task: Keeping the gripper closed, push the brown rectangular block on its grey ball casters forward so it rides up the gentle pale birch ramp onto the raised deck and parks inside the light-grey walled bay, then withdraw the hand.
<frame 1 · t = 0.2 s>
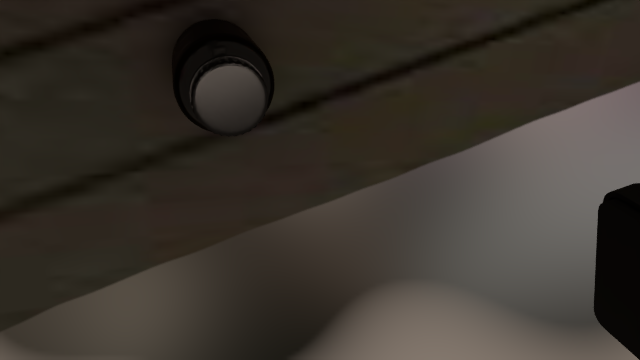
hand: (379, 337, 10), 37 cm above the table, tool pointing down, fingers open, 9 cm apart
supplement bottle: (214, 59, 44), on the table
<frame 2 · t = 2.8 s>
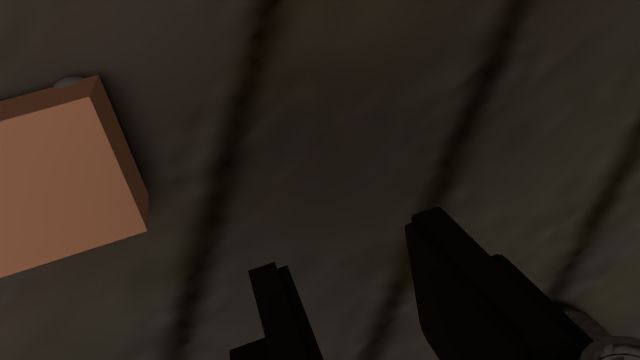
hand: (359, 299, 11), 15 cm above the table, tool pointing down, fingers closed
brown rectangular block: (32, 157, 23), on the table
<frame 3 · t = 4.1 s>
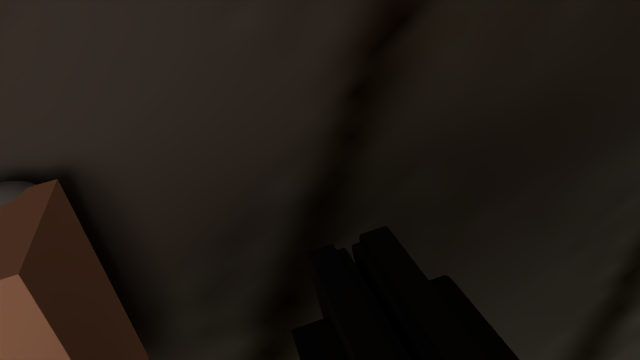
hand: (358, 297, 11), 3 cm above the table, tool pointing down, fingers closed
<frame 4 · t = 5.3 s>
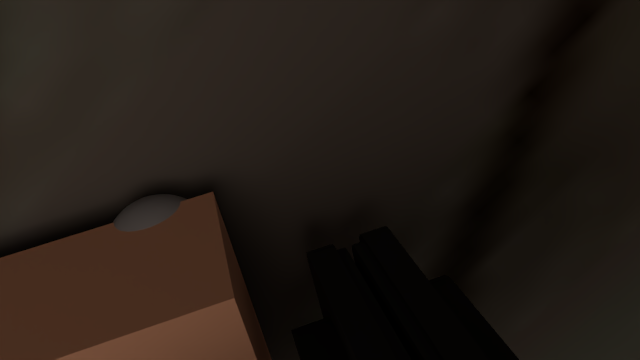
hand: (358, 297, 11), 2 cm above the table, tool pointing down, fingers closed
brown rectangular block: (64, 341, 11), on the table, touching gripper
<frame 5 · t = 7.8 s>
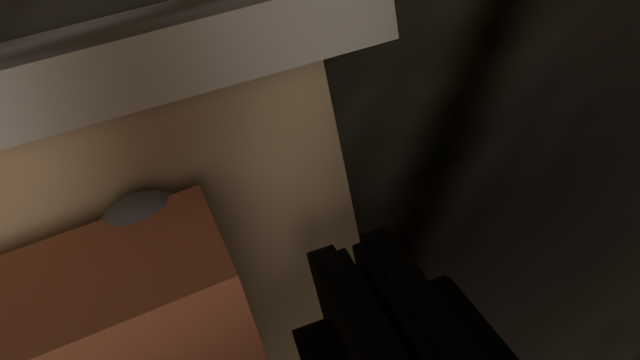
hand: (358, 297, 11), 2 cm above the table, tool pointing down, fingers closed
brown rectangular block: (48, 346, 11), point 1 cm above the table, tilted 6°, touching dock, gripper
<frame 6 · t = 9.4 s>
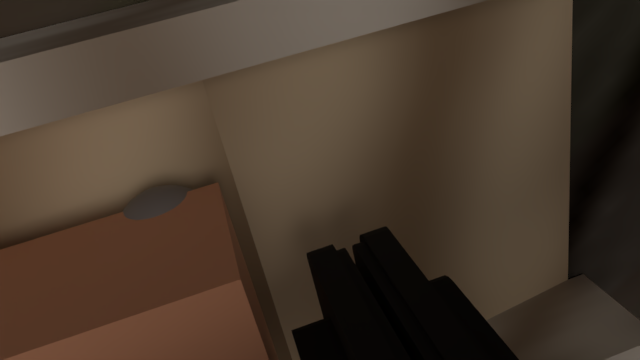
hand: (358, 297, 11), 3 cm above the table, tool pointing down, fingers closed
dock: (238, 246, 13), on the table
brown rectangular block: (73, 328, 12), point 1 cm above the table, touching gripper
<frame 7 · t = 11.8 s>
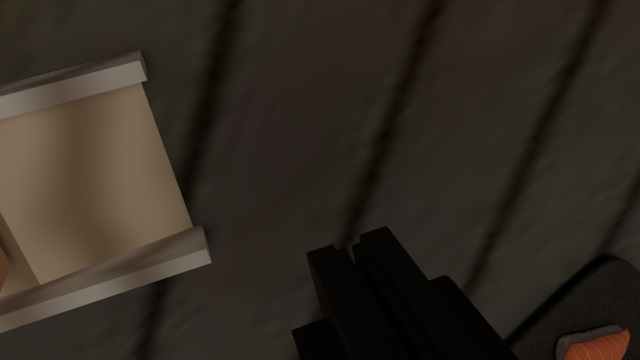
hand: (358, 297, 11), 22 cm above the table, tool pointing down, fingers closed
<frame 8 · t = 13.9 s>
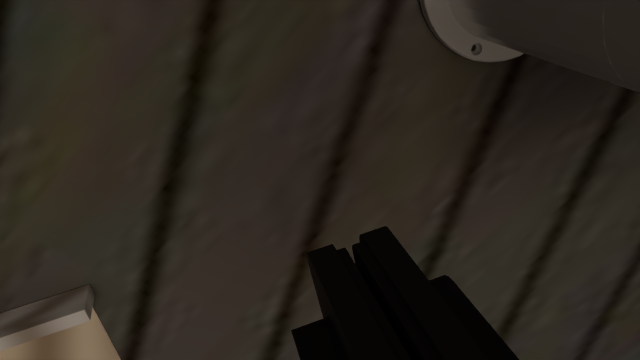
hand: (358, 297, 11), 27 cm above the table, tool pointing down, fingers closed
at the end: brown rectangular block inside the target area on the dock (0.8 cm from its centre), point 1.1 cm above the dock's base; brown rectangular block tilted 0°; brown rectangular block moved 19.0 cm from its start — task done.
